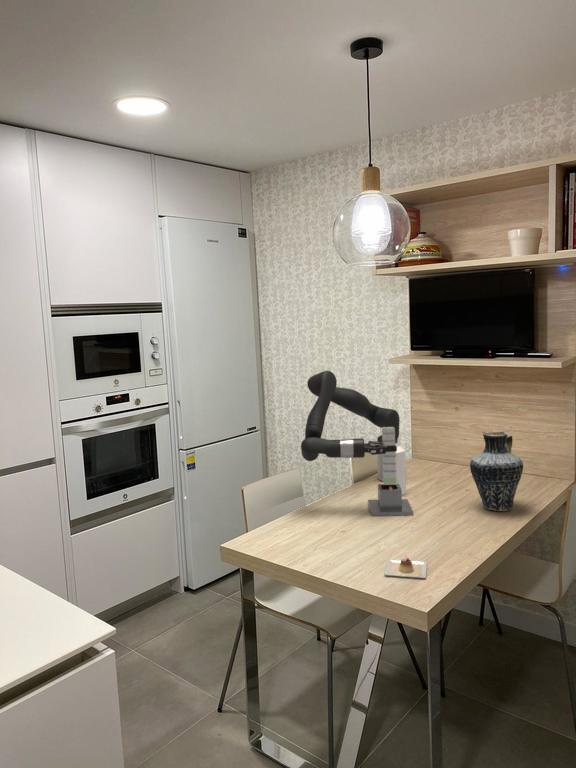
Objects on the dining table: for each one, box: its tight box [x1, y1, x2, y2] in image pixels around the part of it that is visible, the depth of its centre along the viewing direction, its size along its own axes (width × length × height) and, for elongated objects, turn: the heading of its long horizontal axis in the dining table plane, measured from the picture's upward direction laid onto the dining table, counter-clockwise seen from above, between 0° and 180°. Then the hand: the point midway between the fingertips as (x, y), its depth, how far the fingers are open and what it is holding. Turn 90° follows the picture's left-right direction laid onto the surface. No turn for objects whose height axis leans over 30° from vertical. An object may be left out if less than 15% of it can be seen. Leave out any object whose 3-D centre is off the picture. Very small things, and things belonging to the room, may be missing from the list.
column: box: [381, 427, 396, 485], centre depth 239 cm, size 5×5×22 cm
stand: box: [367, 483, 414, 517], centre depth 241 cm, size 16×16×10 cm
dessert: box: [384, 556, 428, 579], centre depth 185 cm, size 12×12×5 cm
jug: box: [469, 430, 524, 512], centre depth 237 cm, size 21×19×30 cm
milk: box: [395, 442, 407, 496], centre depth 260 cm, size 6×6×22 cm
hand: (395, 447), depth 239 cm, fingers closed on column, 4 cm apart
